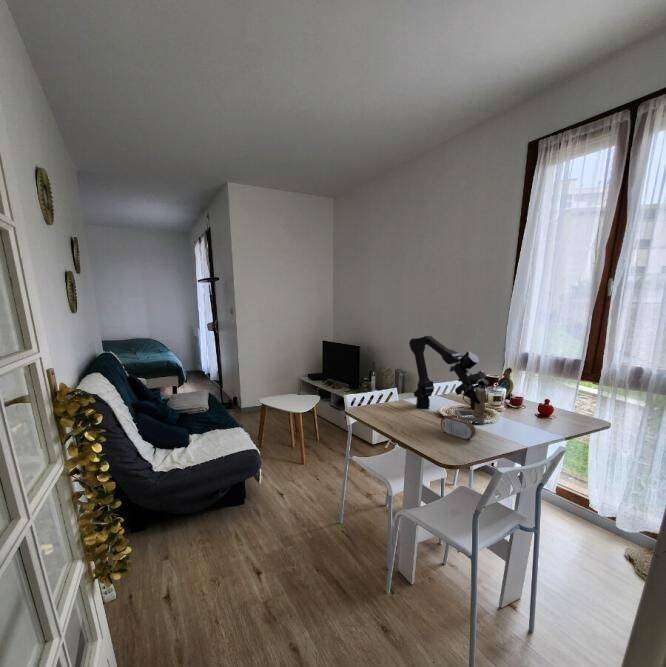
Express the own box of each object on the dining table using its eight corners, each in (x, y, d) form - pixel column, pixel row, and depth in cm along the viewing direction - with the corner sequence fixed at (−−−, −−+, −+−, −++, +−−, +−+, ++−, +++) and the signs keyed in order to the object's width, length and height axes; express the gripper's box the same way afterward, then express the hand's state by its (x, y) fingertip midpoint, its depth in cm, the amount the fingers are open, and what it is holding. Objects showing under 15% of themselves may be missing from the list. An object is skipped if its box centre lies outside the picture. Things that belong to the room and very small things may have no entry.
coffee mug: (486, 409, 177) (487, 392, 176) (484, 414, 170) (485, 396, 169) (464, 405, 183) (465, 388, 182) (461, 410, 176) (462, 392, 175)
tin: (475, 440, 138) (476, 422, 137) (472, 443, 136) (473, 424, 135) (442, 430, 149) (443, 412, 148) (439, 432, 147) (440, 414, 146)
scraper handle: (475, 418, 148) (476, 390, 146) (471, 414, 152) (473, 387, 151) (486, 418, 147) (488, 391, 145) (482, 414, 152) (484, 388, 150)
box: (460, 423, 158) (460, 417, 157) (455, 415, 168) (455, 409, 168) (483, 424, 156) (484, 418, 156) (476, 416, 167) (477, 410, 167)
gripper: (462, 367, 145) (482, 397, 137) (486, 363, 155) (507, 391, 147) (446, 380, 153) (465, 409, 145) (471, 375, 163) (490, 402, 155)
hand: (482, 402), depth 148 cm, fingers closed on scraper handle, 5 cm apart
